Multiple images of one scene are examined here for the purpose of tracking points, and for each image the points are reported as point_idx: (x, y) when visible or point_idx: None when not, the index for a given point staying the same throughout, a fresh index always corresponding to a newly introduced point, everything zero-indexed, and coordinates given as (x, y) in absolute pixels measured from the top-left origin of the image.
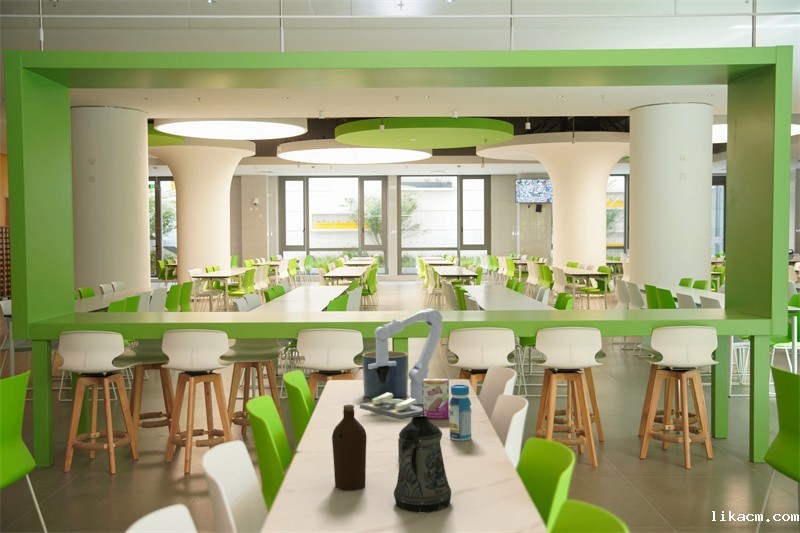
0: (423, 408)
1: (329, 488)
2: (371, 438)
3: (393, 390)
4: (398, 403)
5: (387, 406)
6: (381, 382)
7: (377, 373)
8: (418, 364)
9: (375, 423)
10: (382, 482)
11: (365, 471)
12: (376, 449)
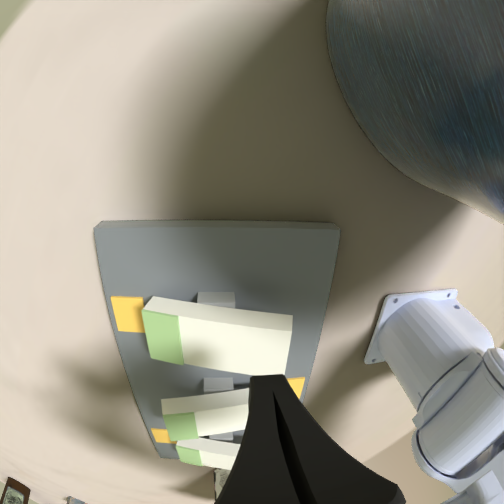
0: (216, 494)
1: (4, 475)
2: (47, 462)
3: (444, 192)
4: (194, 452)
5: (195, 374)
6: (249, 396)
7: (233, 466)
8: (499, 470)
9: (74, 433)
10: (43, 496)
11: (28, 499)
12: (48, 478)
